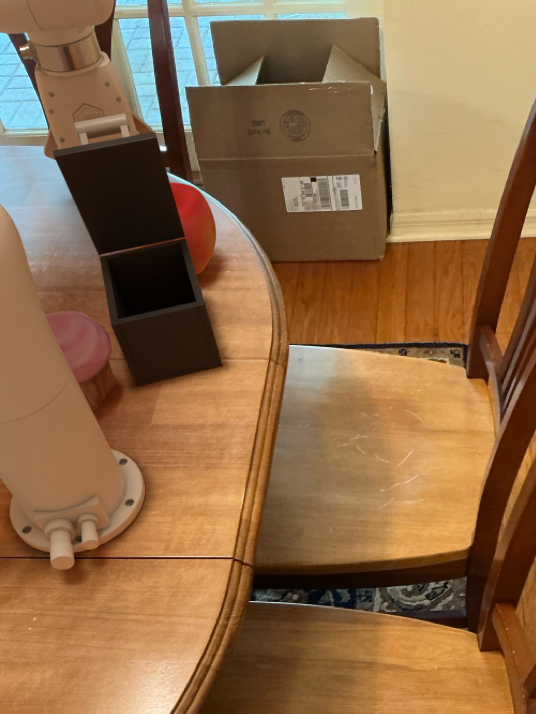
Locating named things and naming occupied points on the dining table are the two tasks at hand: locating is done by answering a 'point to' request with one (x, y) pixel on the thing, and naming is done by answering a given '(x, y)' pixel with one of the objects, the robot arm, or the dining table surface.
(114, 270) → the open square bin
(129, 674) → the dining table surface
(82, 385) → the cupcake
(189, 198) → the apple
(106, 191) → the bin lid
